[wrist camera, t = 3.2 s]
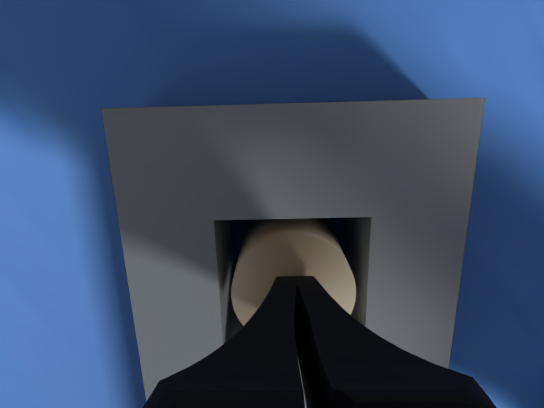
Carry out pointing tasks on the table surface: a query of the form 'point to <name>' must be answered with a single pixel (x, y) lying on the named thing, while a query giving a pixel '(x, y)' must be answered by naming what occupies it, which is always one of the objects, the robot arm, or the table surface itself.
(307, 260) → the birch plunger
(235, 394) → the robot arm
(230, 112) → the block
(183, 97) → the table surface
